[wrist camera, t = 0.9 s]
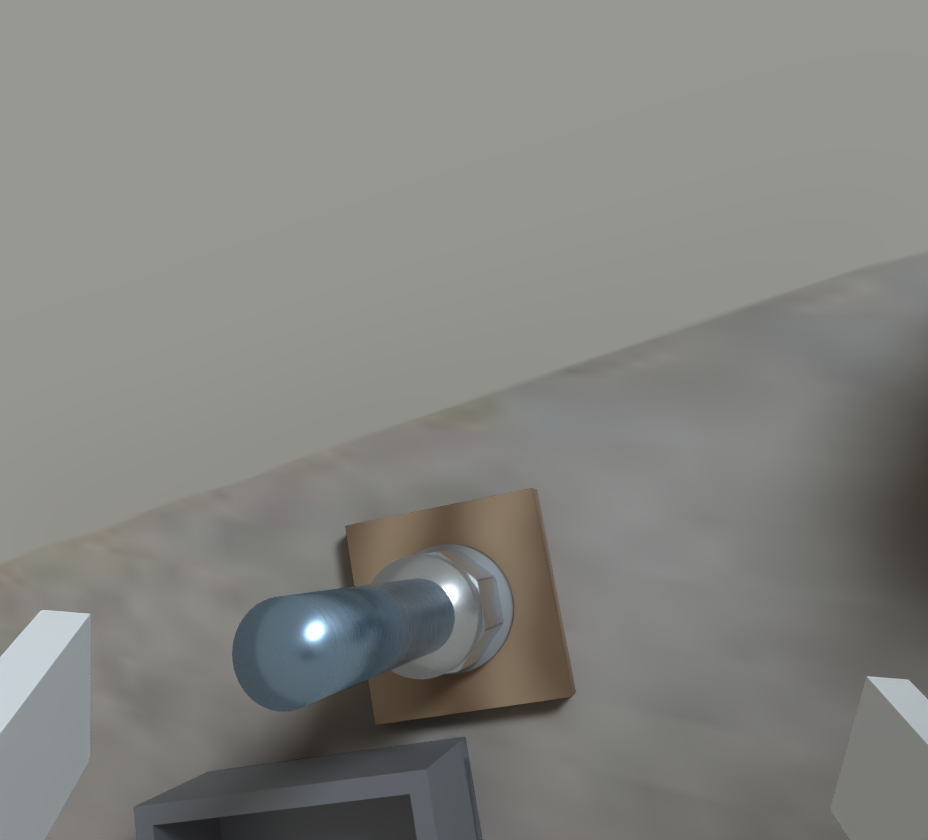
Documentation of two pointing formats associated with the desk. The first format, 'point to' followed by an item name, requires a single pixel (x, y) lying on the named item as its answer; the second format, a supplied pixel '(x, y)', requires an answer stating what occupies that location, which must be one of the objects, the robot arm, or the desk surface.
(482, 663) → the stud base
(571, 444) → the desk surface
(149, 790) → the desk surface
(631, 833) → the desk surface
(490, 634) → the strut
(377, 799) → the bin
